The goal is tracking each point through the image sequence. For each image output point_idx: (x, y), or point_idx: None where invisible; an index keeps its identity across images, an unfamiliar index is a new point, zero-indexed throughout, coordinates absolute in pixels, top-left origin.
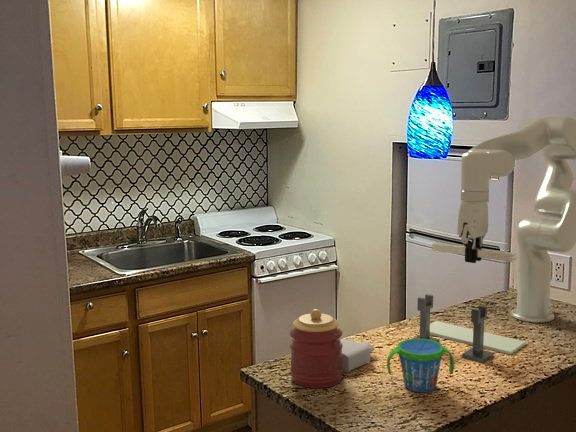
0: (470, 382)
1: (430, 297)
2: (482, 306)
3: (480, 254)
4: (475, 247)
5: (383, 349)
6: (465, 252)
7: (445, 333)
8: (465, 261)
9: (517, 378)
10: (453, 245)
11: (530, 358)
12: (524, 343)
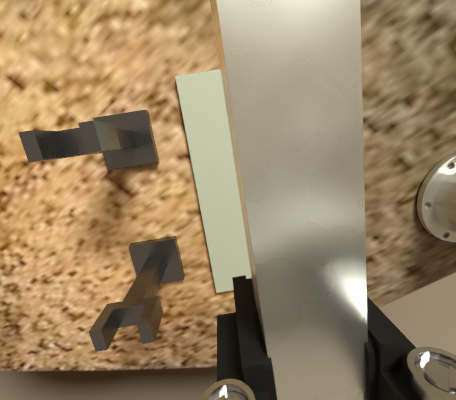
0: (56, 315)
1: (88, 148)
2: (142, 334)
3: None
4: (366, 394)
5: (16, 101)
6: (238, 328)
7: (202, 144)
8: (233, 278)
9: (135, 347)
10: (312, 142)
11: None
12: None
